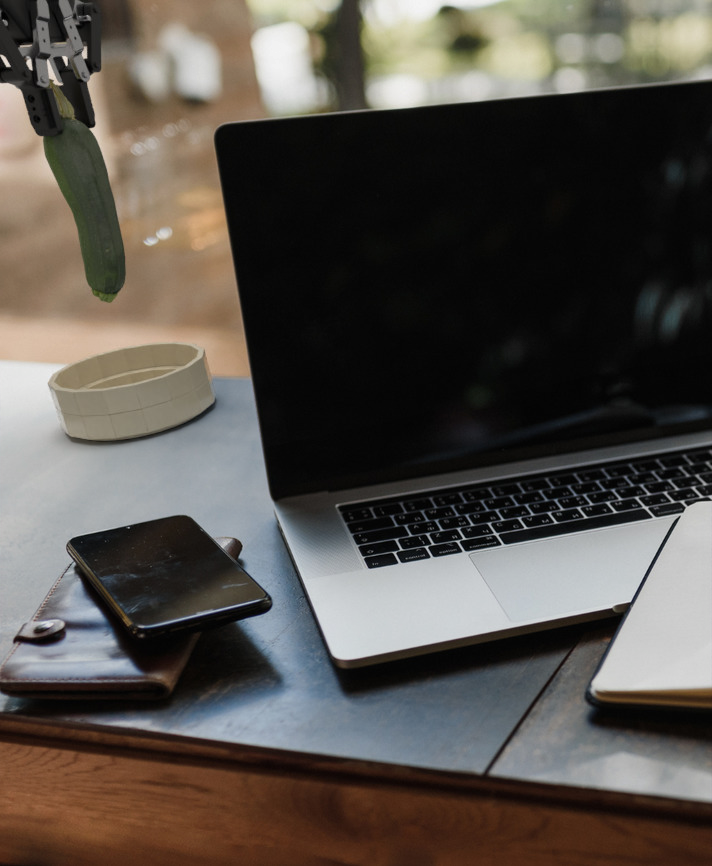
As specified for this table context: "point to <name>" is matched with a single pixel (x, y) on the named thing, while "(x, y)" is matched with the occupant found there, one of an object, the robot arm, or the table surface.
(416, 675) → the table surface
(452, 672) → the table surface
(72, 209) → the vegetable
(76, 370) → the bowl
